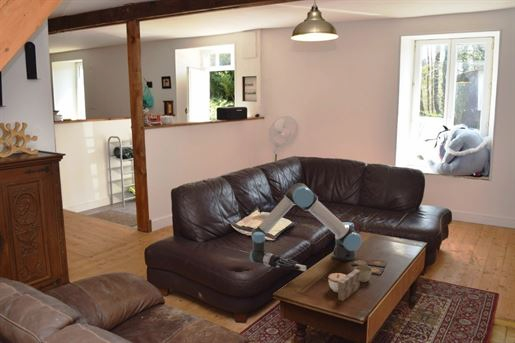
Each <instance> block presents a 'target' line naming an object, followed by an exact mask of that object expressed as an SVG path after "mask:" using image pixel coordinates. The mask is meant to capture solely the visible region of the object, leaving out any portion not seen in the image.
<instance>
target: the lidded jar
mask: <svg viewBox="0 0 515 343" xmlns="http://www.w3.org/2000/svg"><path fill="white" fill-rule="evenodd" d="M347 275H348V274H344V273H340V272H335V273H330V274H329V275H328V285H329V287H330V289H331V290H332V291H333V292H334V293H338V281H340V280H341V279H343V278H344V277H345V276H347Z"/></svg>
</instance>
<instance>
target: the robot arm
mask: <svg viewBox="0 0 515 343" xmlns="http://www.w3.org/2000/svg"><path fill="white" fill-rule="evenodd" d="M318 198H319V197H318V195H316V194H315V193H314V192H313V190H311V189H310V188H309V187H308V186H307V185H306V184H305V183H302V182H297V183H294V184H293V185H292V186H291V187H290V188H289V189H288V190H287V191H286V192H285V194H284V197H283V198H282V199H281V200H280V201H279V203H278V204H277V205H276V206H275V207H274V208H273V210H271V211H270V213H269V214H268V215H266V217H265V218H264V219H263V220H262V222H260V224H259V225H257V227H255V228H253V229H252V231H251V234H250V236H251V240H252V246H253V247H252V250H251V251H250V253H249V258H248V259H249V260H250V262H252V263H255V264H259V265H264V266H268V267H271V268H274V269H280V270H281V269H282V270H290V271H292V270H293V271H296V270H298V271H302V272H306V271H307V265H304V264H300V263H299V262H298V261H296V260H293V259H291V258H290V257H286V259H285V258H281V256H280V255H277V254H273V253H271V252H269V253H268V252H266V235H268V233H269V232H271V230H272V229H273V228H274V227H275V226H276V225H277V223H279V221H280V220H281V219H282V218H283V217H284V216H285V215H286V214H287V213H288V211H289V210H290V209H291V208H293V206H296V205H297V206H298V207H299V208H301V209H302V210H303V211H305V212H307V211H308V212H309V213H310V214H311V215H313V216H314V218H316V219H317V220H318V221H320V223H321V224H323V225H324V226H325V227H326V228H327V229H328V230H329V231H330V232H331V233H332V234H334V235H335V236H334V238H335V246H334V249H333V252H332V258H333V259H335V260H338V261H344V262H345V261H354V260H356V258H357V252H356V251H357V250H359V248H361V245H362V244H363V243H362V242H363V239H362V237H361V235H360V234H359V233H358V232H357V230H355V224H354V223H353V222H348V221H347V222H346V221H345V222H342V221H341V220H340V219H339V218H338V217H337V216H335V215H334V214H333V213H332V212H331V211H330V210H329V209H328V208H327V207H326V206H325V205H324V204H323V203H322V202H320V201H319V199H318Z"/></svg>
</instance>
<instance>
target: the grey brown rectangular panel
mask: <svg viewBox="0 0 515 343" xmlns="http://www.w3.org/2000/svg"><path fill="white" fill-rule="evenodd" d="M346 275H347V276H345V277H344V278H343V279H341V280H340V281H338V292H337V300H339V301H343V302H344V301H345V300H346V299H348V298H349V297H350V296H351V295H353V294H354V293H355V292H357V290H359V289H360V288H361V281H360V270H356V269H355V268H354V270H352V271H351V272H350V273H348V274H346Z"/></svg>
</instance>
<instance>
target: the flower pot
mask: <svg viewBox="0 0 515 343" xmlns="http://www.w3.org/2000/svg"><path fill="white" fill-rule="evenodd" d="M355 269H356V270H360V283H367V282H368V281H369V280H370V279H371V276H372V273H373V268H372V267H371V266H368V265H358V266H357V265H356V266H355V267H354V270H355Z"/></svg>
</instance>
